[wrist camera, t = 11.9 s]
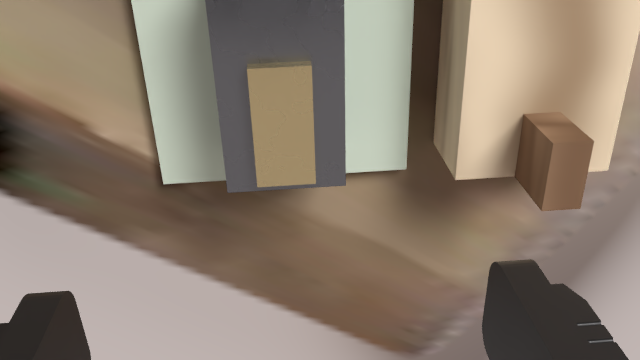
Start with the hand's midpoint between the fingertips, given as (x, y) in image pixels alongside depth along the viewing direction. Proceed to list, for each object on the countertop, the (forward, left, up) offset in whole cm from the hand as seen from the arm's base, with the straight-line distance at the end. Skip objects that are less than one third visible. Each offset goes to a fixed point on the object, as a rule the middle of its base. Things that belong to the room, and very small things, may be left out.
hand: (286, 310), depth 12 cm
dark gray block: (0, 0, -17) cm, 17 cm away
